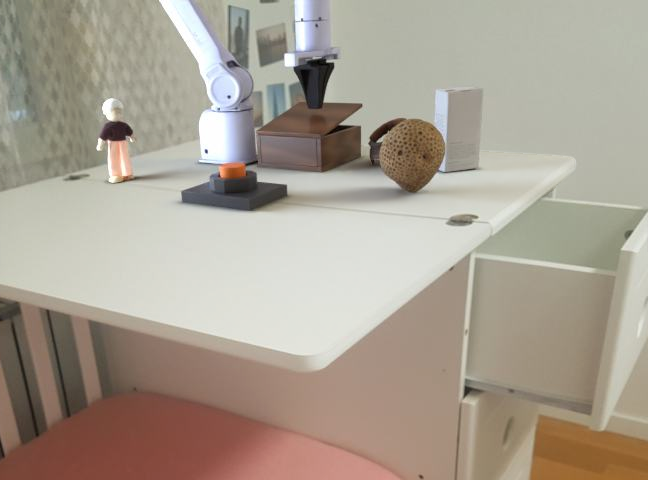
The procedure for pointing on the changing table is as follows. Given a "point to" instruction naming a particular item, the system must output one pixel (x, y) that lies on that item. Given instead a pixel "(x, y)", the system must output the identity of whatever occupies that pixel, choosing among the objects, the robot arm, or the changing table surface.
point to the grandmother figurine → (116, 142)
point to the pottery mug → (378, 134)
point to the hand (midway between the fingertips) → (315, 108)
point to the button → (232, 170)
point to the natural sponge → (412, 153)
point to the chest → (310, 150)
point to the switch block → (235, 192)
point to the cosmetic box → (459, 126)
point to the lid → (309, 120)
